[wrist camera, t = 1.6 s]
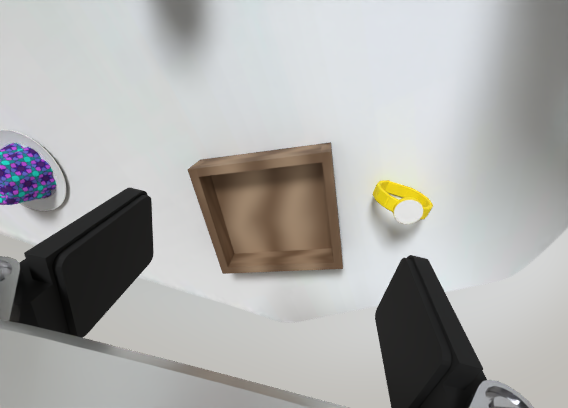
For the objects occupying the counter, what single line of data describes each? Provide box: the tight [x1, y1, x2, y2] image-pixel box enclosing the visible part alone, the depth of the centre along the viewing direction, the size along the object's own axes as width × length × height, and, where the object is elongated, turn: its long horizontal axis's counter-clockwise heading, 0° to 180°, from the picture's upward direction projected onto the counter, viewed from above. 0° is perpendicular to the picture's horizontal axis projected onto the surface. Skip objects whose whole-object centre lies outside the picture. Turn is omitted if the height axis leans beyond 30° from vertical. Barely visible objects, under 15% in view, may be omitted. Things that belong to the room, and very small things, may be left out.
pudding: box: [0, 130, 66, 211], centre depth 37 cm, size 12×12×5 cm
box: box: [188, 143, 343, 274], centre depth 35 cm, size 16×15×4 cm
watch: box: [373, 180, 433, 224], centre depth 30 cm, size 6×3×6 cm, turn 75°
